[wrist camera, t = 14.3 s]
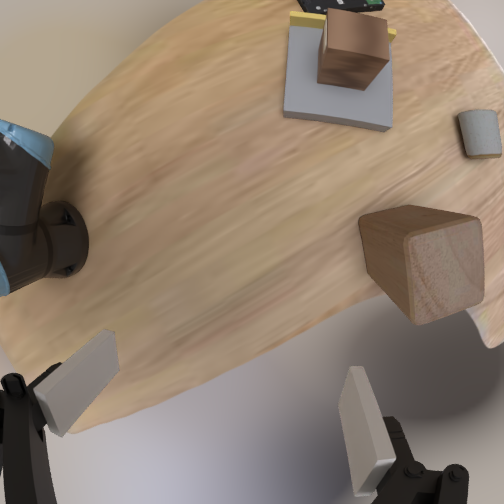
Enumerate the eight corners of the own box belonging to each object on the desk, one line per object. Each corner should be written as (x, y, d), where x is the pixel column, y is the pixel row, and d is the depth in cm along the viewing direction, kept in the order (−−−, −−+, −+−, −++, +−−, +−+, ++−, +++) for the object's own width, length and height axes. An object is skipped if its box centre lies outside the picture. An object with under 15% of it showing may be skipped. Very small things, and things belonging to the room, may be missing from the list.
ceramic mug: (460, 161, 40) (485, 158, 32) (449, 115, 38) (473, 106, 31) (498, 158, 39) (523, 156, 31) (489, 115, 37) (513, 109, 30)
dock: (283, 117, 42) (283, 104, 35) (289, 32, 39) (290, 11, 32) (383, 132, 41) (399, 123, 34) (383, 47, 37) (395, 30, 31)
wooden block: (411, 203, 43) (484, 215, 23) (420, 262, 44) (487, 303, 25) (355, 216, 44) (405, 236, 25) (367, 276, 46) (414, 331, 26)
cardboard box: (316, 83, 37) (326, 47, 25) (317, 49, 36) (327, 7, 24) (364, 91, 36) (390, 60, 25) (364, 57, 35) (387, 20, 23)
